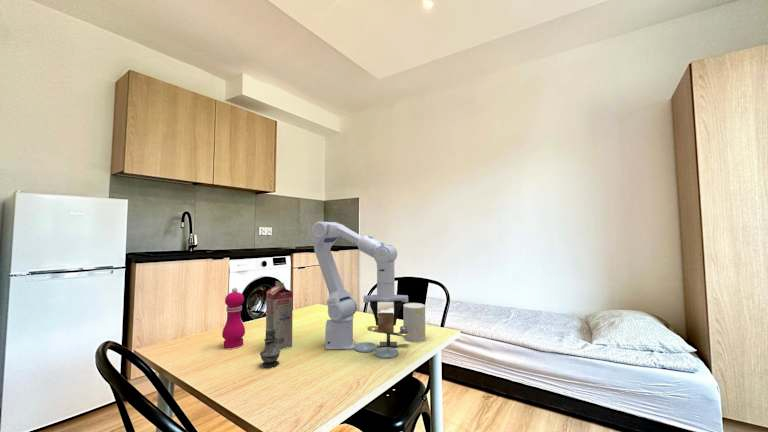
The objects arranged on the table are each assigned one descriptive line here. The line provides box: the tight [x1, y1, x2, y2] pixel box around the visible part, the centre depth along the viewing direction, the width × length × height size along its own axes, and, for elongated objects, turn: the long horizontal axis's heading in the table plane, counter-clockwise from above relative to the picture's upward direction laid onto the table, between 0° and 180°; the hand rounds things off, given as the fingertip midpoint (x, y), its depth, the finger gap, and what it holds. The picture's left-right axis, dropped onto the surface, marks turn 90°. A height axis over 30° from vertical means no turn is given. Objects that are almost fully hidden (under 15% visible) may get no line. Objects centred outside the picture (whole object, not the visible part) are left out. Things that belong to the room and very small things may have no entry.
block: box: [377, 312, 395, 334], centre depth 101 cm, size 5×5×5 cm
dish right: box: [374, 347, 399, 359], centre depth 101 cm, size 8×8×1 cm
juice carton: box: [265, 280, 294, 350], centre depth 109 cm, size 7×7×22 cm
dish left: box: [353, 341, 377, 354], centre depth 106 cm, size 8×8×1 cm
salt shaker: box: [259, 324, 282, 369], centre depth 93 cm, size 6×6×12 cm
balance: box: [367, 325, 409, 349], centre depth 108 cm, size 15×4×6 cm, turn 92°
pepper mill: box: [221, 287, 246, 349], centre depth 109 cm, size 7×7×20 cm
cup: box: [402, 302, 426, 343], centre depth 116 cm, size 8×8×12 cm
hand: (385, 324), depth 101 cm, fingers closed on block, 5 cm apart
